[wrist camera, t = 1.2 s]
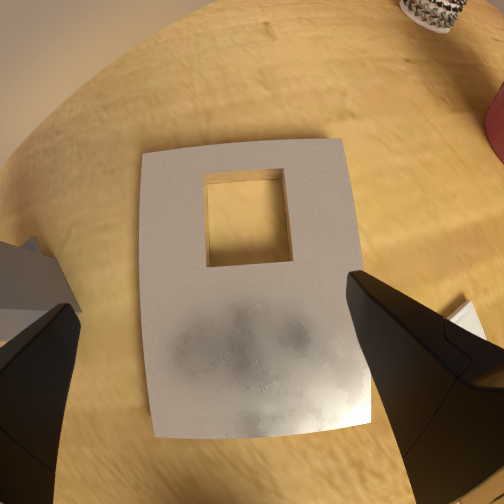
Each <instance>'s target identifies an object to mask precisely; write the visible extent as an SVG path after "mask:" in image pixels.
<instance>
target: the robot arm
mask: <svg viewBox="0 0 504 504" xmlns="http://www.w3.org/2000/svg"><path fill="white" fill-rule="evenodd" d="M346 301H347V304H348V308H349V311H350V315H351V318H352V322H353V325H354V329H355V332H356V336H357V339H358V342H359V345H360V347H361V350H362V352H363V355H364V357H365V360H366V362H367V364H368V367H369V369H370V372H371V374H372V377H373V380H374V382H375V385H376V387H377V390H378V392H379V395H380V398H381V400H382V403H383V406H384V408H385V411H386V414H387V416H388V419H389V422H390V425H391V427H392V430H393V433H394V436H395V439H396V441H397V444H398V447H399V450H400V453H401V456H402V459H403V462H404V465H405V468H406V471H407V475H408V478H409V481H410V484H411V487H412V490H413V494H414V497H415V500H416V504H456V503H458V502H460V504H504V349H503V348H501V347H499V346H497V345H495V344H493V343H491V342H489V341H487V340H485V339H483V338H481V337H479V336H477V335H475V334H473V333H471V332H469V331H467V330H465V329H464V328H462V327H460V326H458V325H457V324H455V323H453V322H452V321H450V320H448V319H446V318H445V319H444V317H443V316H441V315H440V314H438V313H436V312H434V311H433V310H431V309H429V308H428V307H426V306H424V305H422V304H421V303H419V302H417V301H415V300H414V299H412V298H410V297H408V296H407V295H405V294H403V293H401V292H400V291H398V290H396V289H394V288H393V287H391V286H389V285H387V284H386V283H384V282H382V281H380V280H378V279H377V278H375V277H373V276H371V275H369V274H368V273H366V272H364V271H362V270H356V271H350V272H349V273H348V275H347V284H346ZM80 329H81V325H80V321H79V319H78V317H77V315H76V313H75V311H74V309H73V307H72V305H71V304H70V303H59V304H58V305H56V306H55V307H53V308H52V309H51V310H49V311H48V312H47V313H45V314H44V315H43V316H41V317H40V318H39V319H37V320H36V321H35V322H33V323H32V324H31V325H29V326H28V327H27V328H25V329H24V330H23V331H21V332H20V333H19V334H18V335H16V336H15V337H14V338H12V339H11V340H10V341H9V342H7V343H6V344H5V345H4V346H2V347H1V348H0V504H53V498H54V484H55V472H56V463H57V455H58V448H59V441H60V434H61V428H62V422H63V417H64V411H65V406H66V401H67V396H68V392H69V387H70V383H71V378H72V374H73V370H74V365H75V359H76V352H77V346H78V340H79V334H80Z"/></svg>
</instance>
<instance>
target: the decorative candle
mask: <svg viewBox="0 0 504 504" xmlns="http://www.w3.org/2000/svg"><path fill="white" fill-rule="evenodd" d="M466 4H467V0H401V2H400V4H399V5H400V7H401V10H402V11H403V12H404V13H405V14H406V15H407V16H408V17H409V18H410V19H412V20H413V21H414V22H416V23H417V24H419V25H421V26H422V27H424V28H426V29H428V30H431V31H433V32H436V33H441V34H446V33H448V32H449V31H450V26H451V27H453V26H454V25H453V23H454V22H455V21H454V20H457V19H458V18H457V17H458V16H459V15H458V12H461V11H462V8H463V6H462V5H466Z"/></svg>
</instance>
